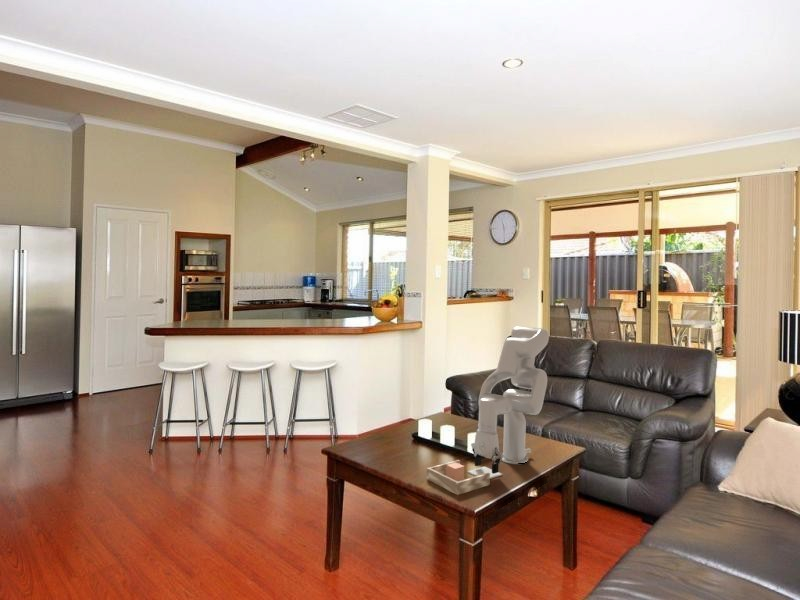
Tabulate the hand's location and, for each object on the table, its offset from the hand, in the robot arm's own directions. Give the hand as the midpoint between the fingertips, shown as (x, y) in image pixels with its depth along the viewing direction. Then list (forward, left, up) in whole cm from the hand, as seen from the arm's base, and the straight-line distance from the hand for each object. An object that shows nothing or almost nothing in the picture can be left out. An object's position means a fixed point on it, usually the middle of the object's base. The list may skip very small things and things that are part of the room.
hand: (486, 469), depth 215 cm
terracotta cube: (+17, 0, -2) cm, 18 cm away
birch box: (+15, 0, -2) cm, 16 cm away
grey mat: (+1, 0, -2) cm, 2 cm away
